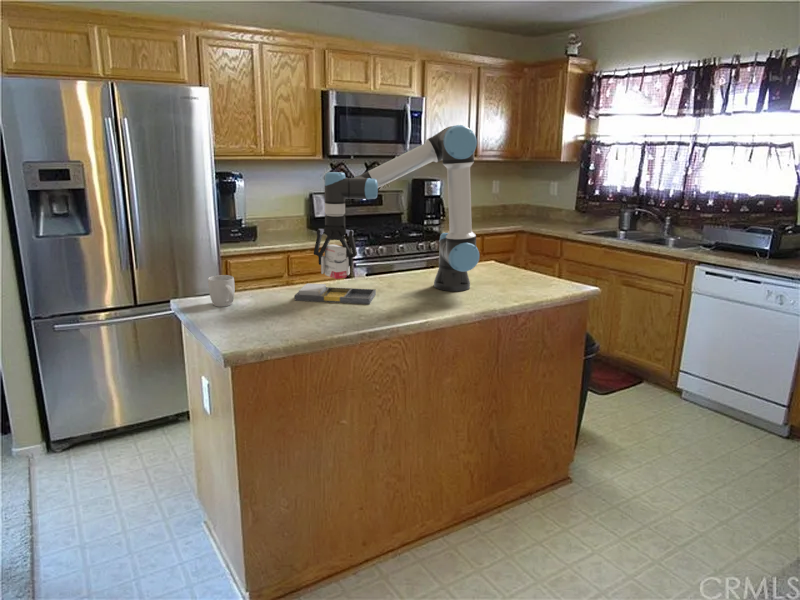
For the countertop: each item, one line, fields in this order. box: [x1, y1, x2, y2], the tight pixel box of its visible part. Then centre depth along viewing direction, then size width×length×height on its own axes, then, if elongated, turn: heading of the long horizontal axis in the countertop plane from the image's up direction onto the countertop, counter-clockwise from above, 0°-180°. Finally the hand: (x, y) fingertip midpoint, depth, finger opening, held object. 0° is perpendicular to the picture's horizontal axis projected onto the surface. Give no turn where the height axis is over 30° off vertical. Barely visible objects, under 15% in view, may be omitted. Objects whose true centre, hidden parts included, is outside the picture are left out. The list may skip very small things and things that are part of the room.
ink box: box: [324, 244, 348, 280], centre depth 209 cm, size 8×5×12 cm, turn 39°
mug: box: [207, 274, 236, 308], centre depth 198 cm, size 13×9×10 cm
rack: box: [294, 286, 377, 305], centre depth 213 cm, size 29×14×2 cm, turn 83°
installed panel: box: [298, 283, 327, 296], centre depth 213 cm, size 8×11×3 cm
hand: (335, 273), depth 210 cm, fingers closed on ink box, 9 cm apart
